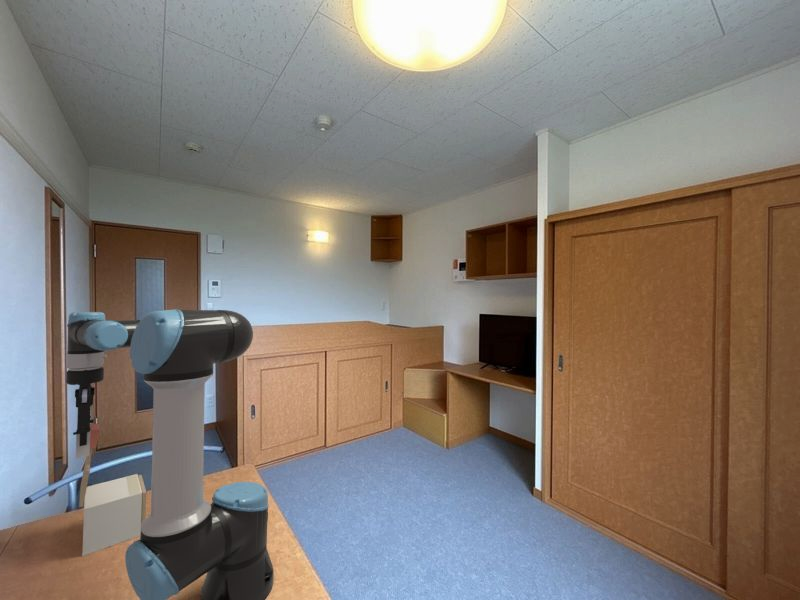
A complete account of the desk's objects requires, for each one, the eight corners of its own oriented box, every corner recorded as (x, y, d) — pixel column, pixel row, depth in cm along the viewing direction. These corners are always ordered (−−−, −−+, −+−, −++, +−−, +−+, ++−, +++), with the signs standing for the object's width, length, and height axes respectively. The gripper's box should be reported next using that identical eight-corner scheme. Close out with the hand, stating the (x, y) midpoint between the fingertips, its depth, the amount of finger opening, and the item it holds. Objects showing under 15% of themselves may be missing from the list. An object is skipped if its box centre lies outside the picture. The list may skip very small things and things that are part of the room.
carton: (145, 534, 96) (146, 491, 96) (82, 556, 87) (84, 508, 87) (140, 511, 106) (141, 472, 106) (83, 528, 97) (85, 486, 98)
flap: (99, 433, 90) (89, 434, 88) (86, 505, 88) (75, 508, 87) (99, 420, 99) (90, 421, 98) (87, 485, 97) (77, 487, 96)
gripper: (104, 371, 88) (101, 460, 88) (103, 361, 102) (101, 438, 102) (64, 375, 83) (61, 469, 83) (68, 364, 97) (66, 445, 97)
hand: (83, 452), depth 92 cm, fingers closed on flap, 6 cm apart
